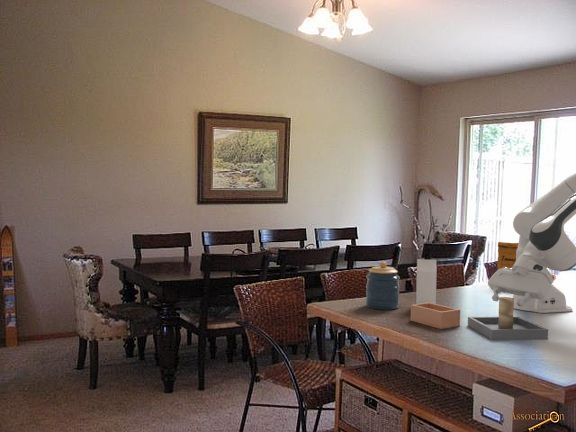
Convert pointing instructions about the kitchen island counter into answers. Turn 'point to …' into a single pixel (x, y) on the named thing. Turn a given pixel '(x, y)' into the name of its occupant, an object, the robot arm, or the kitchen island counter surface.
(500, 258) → the coffee package
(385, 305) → the canister
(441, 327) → the terracotta planter box
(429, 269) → the milk carton
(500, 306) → the birch peg
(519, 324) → the charcoal tray
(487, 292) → the kitchen island counter surface
